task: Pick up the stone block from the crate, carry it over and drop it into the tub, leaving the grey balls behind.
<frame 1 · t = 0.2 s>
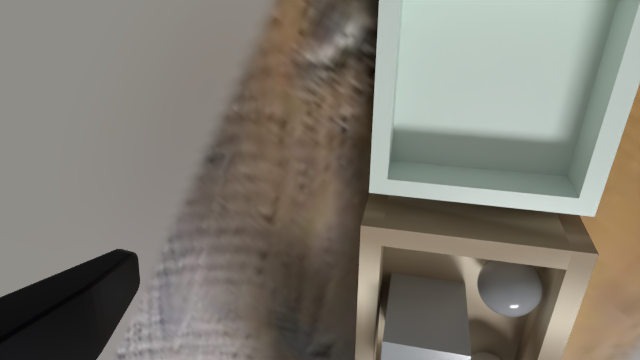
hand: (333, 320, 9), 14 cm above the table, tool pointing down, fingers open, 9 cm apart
grey ball 2: (505, 266, 24), resting on crate
grey ball 1: (483, 358, 27), resting on crate
crate: (450, 302, 26), on the table
tub: (489, 82, 20), on the table
stone block: (424, 304, 26), resting on crate
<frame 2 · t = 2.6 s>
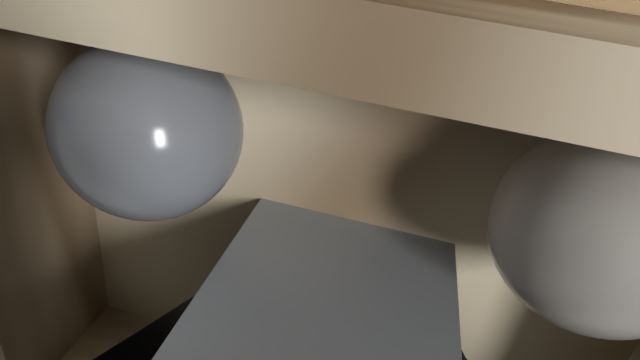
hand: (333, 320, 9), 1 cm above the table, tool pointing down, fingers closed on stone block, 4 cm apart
grey ball 2: (193, 101, 9), resting on crate
grey ball 1: (570, 181, 8), resting on crate
crate: (354, 226, 10), on the table
stone block: (340, 293, 10), resting on crate, touching gripper
when the fingers open (3 cm above the table, at t = 5.9 s): stone block drops 2 cm, resting on tub.
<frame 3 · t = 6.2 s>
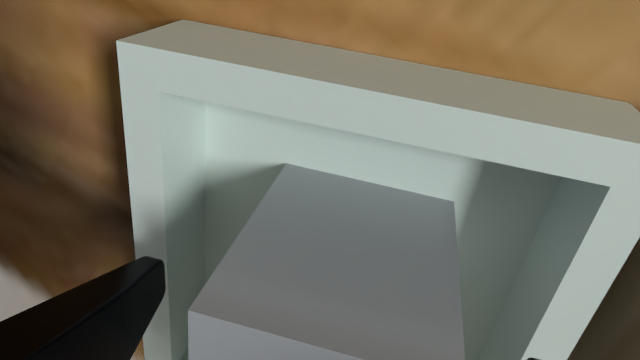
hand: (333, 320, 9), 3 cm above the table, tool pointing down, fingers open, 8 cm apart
tub: (354, 238, 12), on the table
stone block: (353, 249, 12), resting on tub
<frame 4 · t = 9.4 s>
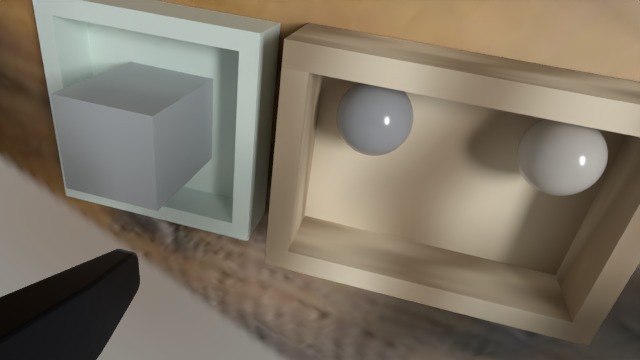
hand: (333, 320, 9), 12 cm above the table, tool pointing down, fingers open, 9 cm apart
grey ball 2: (378, 105, 19), resting on crate
grey ball 1: (551, 140, 18), resting on crate
crate: (447, 166, 20), on the table
tub: (176, 108, 22), on the table
stone block: (172, 111, 21), resting on tub
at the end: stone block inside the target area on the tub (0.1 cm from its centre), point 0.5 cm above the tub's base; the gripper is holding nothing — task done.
